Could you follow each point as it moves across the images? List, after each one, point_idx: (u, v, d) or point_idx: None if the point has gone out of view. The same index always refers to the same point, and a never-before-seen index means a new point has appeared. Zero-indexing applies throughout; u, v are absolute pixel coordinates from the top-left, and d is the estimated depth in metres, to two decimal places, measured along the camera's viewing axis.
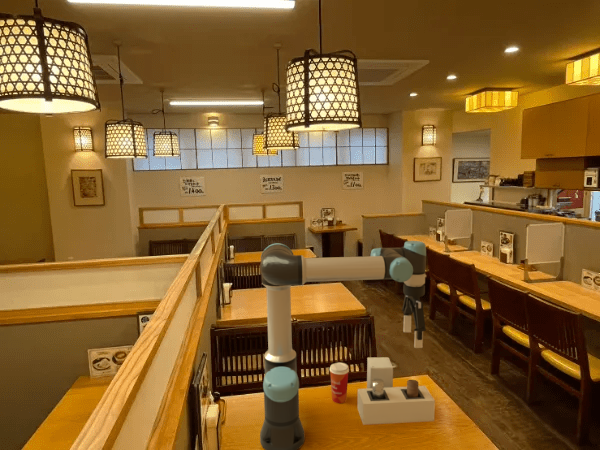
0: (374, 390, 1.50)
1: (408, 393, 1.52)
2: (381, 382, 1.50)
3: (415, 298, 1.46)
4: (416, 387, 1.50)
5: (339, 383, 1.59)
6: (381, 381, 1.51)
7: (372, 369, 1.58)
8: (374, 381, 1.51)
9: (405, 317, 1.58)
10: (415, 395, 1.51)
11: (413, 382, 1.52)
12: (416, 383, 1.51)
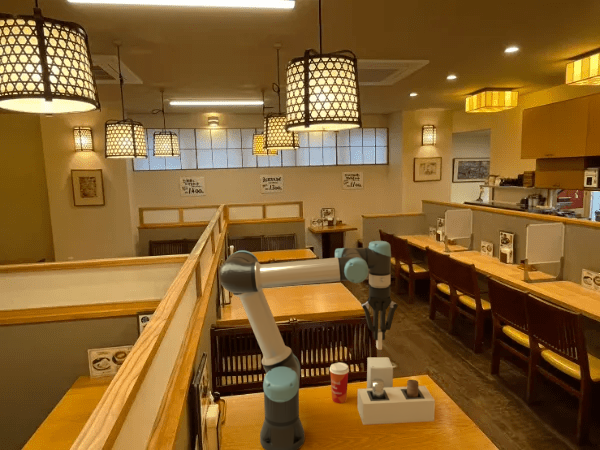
0: (374, 390, 1.50)
1: (408, 393, 1.52)
2: (381, 382, 1.50)
3: None
4: (416, 387, 1.50)
5: (339, 383, 1.59)
6: (381, 381, 1.51)
7: (372, 369, 1.58)
8: (374, 381, 1.51)
9: None
10: (415, 395, 1.51)
11: (413, 382, 1.52)
12: (416, 383, 1.51)
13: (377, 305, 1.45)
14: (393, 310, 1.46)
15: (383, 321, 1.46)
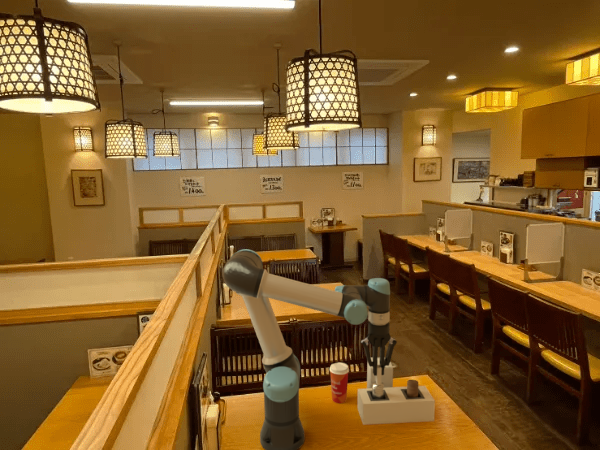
0: (374, 392, 1.50)
1: (408, 393, 1.52)
2: (381, 384, 1.50)
3: None
4: (416, 387, 1.50)
5: (339, 383, 1.59)
6: None
7: (372, 369, 1.58)
8: (374, 383, 1.51)
9: None
10: (415, 395, 1.51)
11: (413, 382, 1.52)
12: (416, 383, 1.51)
13: (376, 342, 1.47)
14: (392, 346, 1.48)
15: (382, 357, 1.48)
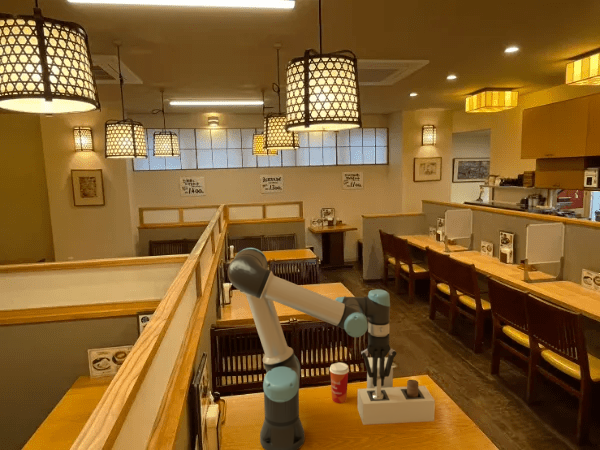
0: None
1: (408, 393, 1.52)
2: (381, 395, 1.51)
3: None
4: (416, 387, 1.50)
5: (339, 383, 1.59)
6: None
7: None
8: (374, 394, 1.52)
9: None
10: (415, 395, 1.51)
11: (413, 382, 1.52)
12: (416, 383, 1.51)
13: (376, 353, 1.47)
14: (392, 357, 1.49)
15: (382, 368, 1.49)
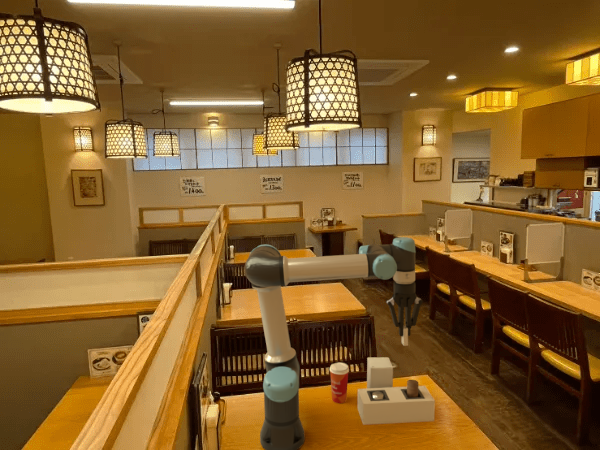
0: None
1: (408, 393, 1.52)
2: (381, 395, 1.51)
3: None
4: (416, 387, 1.50)
5: (339, 383, 1.59)
6: (380, 393, 1.52)
7: (372, 369, 1.58)
8: (374, 394, 1.52)
9: None
10: (415, 395, 1.51)
11: (413, 382, 1.52)
12: (416, 383, 1.51)
13: (402, 301, 1.45)
14: (418, 306, 1.46)
15: (408, 317, 1.47)
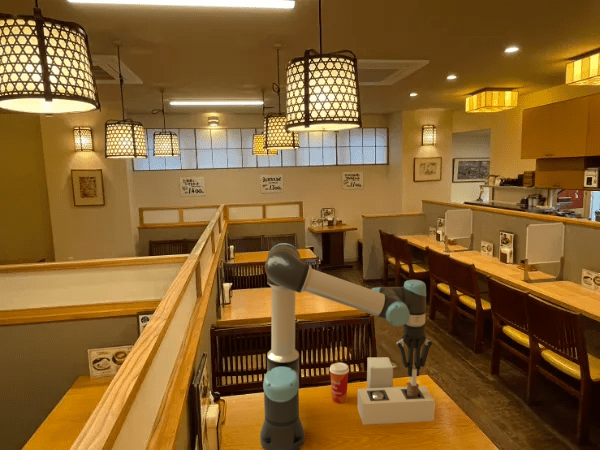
0: None
1: (408, 395, 1.52)
2: (381, 395, 1.51)
3: None
4: (416, 389, 1.50)
5: (339, 383, 1.59)
6: (380, 393, 1.52)
7: (372, 369, 1.58)
8: (374, 394, 1.52)
9: None
10: None
11: None
12: (416, 385, 1.51)
13: (412, 343, 1.47)
14: (427, 347, 1.49)
15: (418, 358, 1.49)
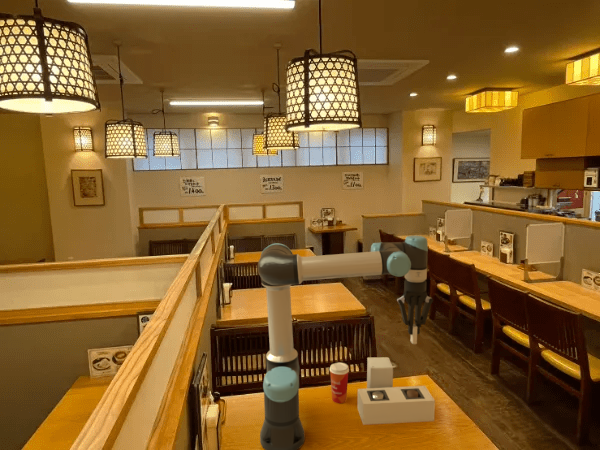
0: None
1: None
2: (381, 395, 1.51)
3: None
4: None
5: (339, 383, 1.59)
6: (380, 393, 1.52)
7: (372, 369, 1.58)
8: (374, 394, 1.52)
9: None
10: None
11: (413, 392, 1.53)
12: (416, 393, 1.52)
13: (413, 299, 1.45)
14: (428, 305, 1.47)
15: (418, 315, 1.47)
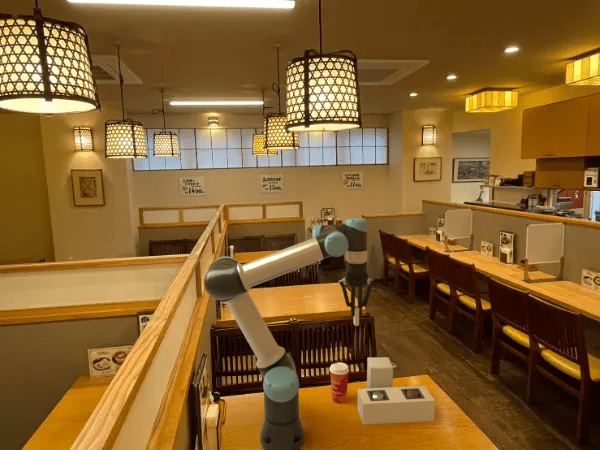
0: None
1: None
2: (381, 395, 1.51)
3: None
4: None
5: (339, 383, 1.59)
6: (380, 393, 1.52)
7: (372, 369, 1.58)
8: (374, 394, 1.52)
9: None
10: None
11: (413, 392, 1.53)
12: (416, 393, 1.52)
13: (354, 281, 1.46)
14: (370, 286, 1.48)
15: (360, 297, 1.48)
